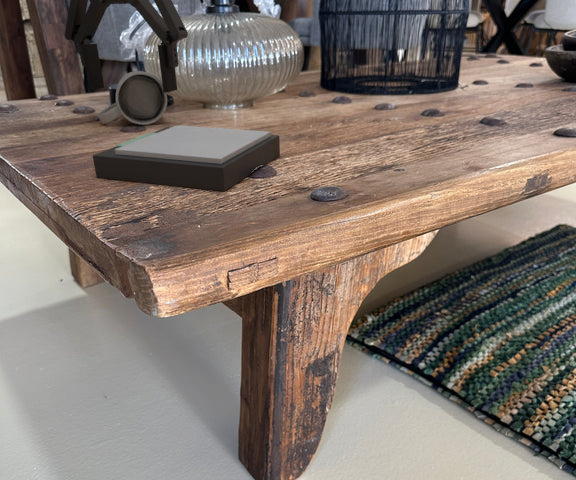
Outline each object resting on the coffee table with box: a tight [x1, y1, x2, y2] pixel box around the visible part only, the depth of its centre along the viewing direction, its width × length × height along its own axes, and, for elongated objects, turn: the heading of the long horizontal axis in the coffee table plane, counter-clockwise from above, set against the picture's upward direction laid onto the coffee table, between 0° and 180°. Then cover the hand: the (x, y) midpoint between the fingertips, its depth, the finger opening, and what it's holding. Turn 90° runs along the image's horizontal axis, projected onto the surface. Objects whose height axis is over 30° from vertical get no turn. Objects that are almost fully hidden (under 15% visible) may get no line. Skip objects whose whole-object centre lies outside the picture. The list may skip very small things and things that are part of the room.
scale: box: [92, 124, 281, 192], centre depth 66 cm, size 16×15×3 cm
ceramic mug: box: [97, 70, 168, 126], centre depth 89 cm, size 11×8×8 cm
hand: (132, 90), depth 88 cm, fingers open, 13 cm apart
